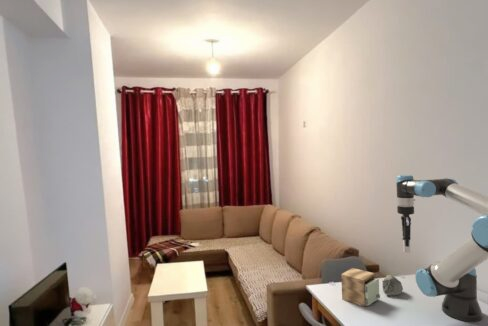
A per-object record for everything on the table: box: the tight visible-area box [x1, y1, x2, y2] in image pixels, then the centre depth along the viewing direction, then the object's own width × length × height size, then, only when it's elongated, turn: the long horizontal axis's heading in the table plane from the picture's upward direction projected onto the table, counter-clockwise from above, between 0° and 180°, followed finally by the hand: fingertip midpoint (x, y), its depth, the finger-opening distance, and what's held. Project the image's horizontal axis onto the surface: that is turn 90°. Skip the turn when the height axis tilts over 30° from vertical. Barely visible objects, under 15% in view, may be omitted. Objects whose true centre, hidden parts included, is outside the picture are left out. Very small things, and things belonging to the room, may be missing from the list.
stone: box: [382, 274, 404, 296], centre depth 163 cm, size 10×10×10 cm
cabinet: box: [340, 267, 376, 307], centre depth 158 cm, size 12×12×13 cm
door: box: [365, 278, 381, 307], centre depth 152 cm, size 2×12×10 cm, turn 130°
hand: (406, 252), depth 154 cm, fingers closed
